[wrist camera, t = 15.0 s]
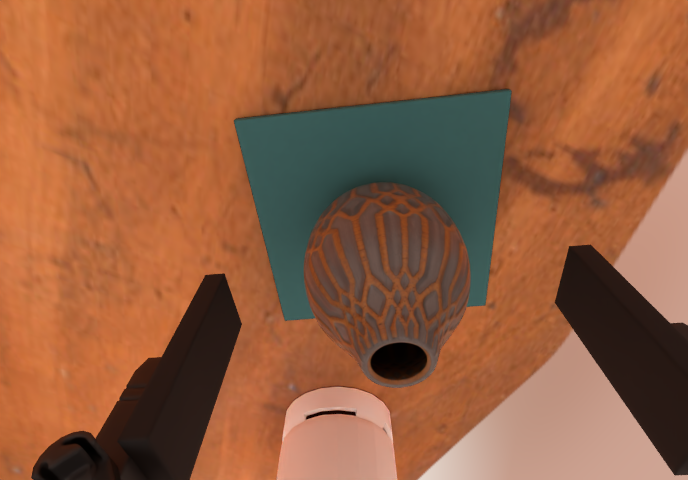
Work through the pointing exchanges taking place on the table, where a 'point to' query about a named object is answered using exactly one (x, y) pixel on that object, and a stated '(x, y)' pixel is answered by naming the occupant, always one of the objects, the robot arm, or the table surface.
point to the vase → (387, 280)
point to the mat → (375, 172)
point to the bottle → (337, 438)
